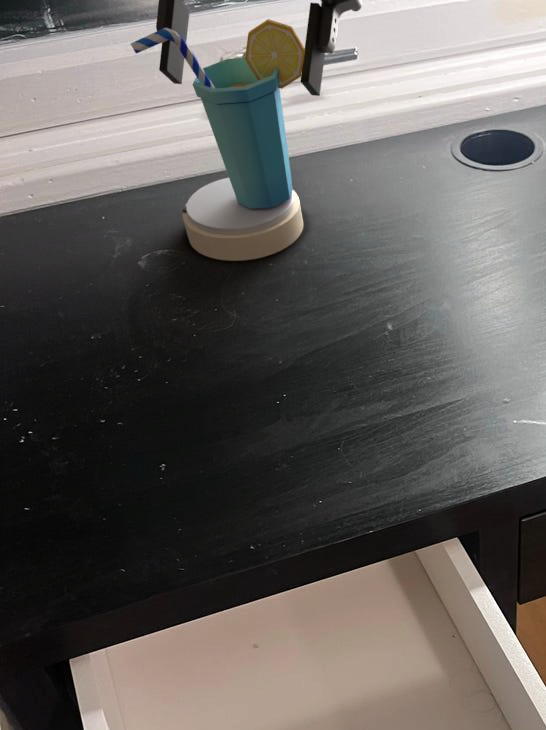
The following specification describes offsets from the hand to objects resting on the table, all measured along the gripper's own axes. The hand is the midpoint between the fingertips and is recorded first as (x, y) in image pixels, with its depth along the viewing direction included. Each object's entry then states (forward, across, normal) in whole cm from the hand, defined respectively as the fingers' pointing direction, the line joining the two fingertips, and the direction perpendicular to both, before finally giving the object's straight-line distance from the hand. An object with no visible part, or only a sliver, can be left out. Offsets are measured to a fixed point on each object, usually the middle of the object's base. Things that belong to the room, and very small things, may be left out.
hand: (239, 83), depth 89 cm
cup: (+9, -2, -3) cm, 10 cm away
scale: (+11, 0, -5) cm, 12 cm away
